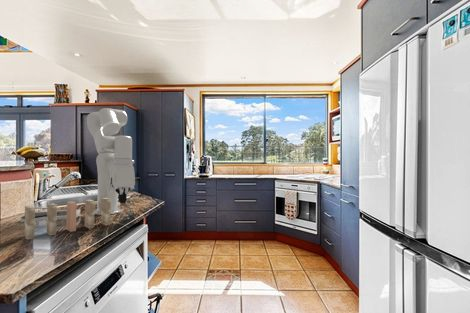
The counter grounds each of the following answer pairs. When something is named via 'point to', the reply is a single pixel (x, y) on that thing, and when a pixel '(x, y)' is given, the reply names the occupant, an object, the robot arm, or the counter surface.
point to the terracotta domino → (71, 216)
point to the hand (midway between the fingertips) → (122, 202)
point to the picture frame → (43, 215)
